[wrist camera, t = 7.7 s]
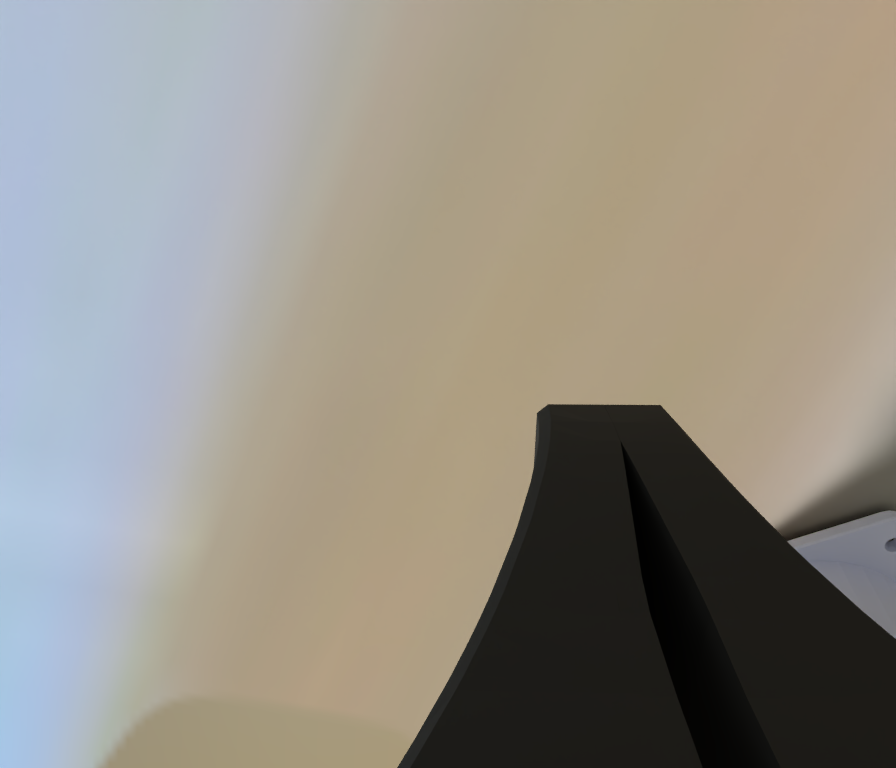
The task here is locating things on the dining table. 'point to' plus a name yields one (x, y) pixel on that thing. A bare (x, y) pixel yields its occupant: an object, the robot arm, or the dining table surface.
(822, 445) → the dining table surface
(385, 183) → the dining table surface
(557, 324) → the dining table surface
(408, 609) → the dining table surface
